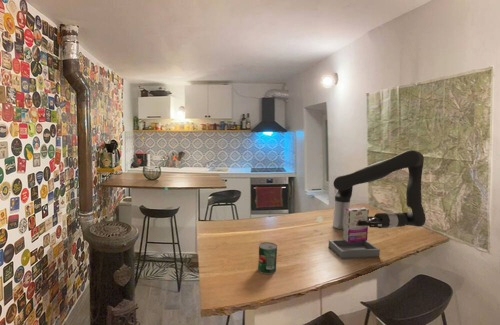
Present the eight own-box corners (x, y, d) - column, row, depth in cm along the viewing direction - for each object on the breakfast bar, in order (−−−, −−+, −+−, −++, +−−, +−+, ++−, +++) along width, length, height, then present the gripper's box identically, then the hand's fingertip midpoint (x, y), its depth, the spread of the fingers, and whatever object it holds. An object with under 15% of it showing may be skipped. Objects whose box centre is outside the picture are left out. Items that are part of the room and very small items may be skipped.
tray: (328, 247, 156) (329, 240, 156) (363, 246, 160) (364, 238, 159) (341, 259, 143) (341, 251, 142) (379, 257, 146) (379, 249, 146)
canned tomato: (254, 269, 130) (255, 245, 129) (266, 263, 135) (267, 240, 134) (267, 276, 124) (268, 250, 123) (279, 270, 130) (281, 246, 128)
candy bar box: (361, 237, 154) (363, 206, 152) (367, 241, 149) (369, 209, 147) (342, 239, 151) (343, 207, 149) (347, 242, 146) (349, 210, 144)
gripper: (378, 209, 159) (348, 210, 156) (395, 217, 145) (363, 218, 142) (377, 223, 160) (347, 224, 157) (394, 232, 146) (362, 233, 143)
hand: (355, 221), depth 149 cm, fingers closed on candy bar box, 5 cm apart
